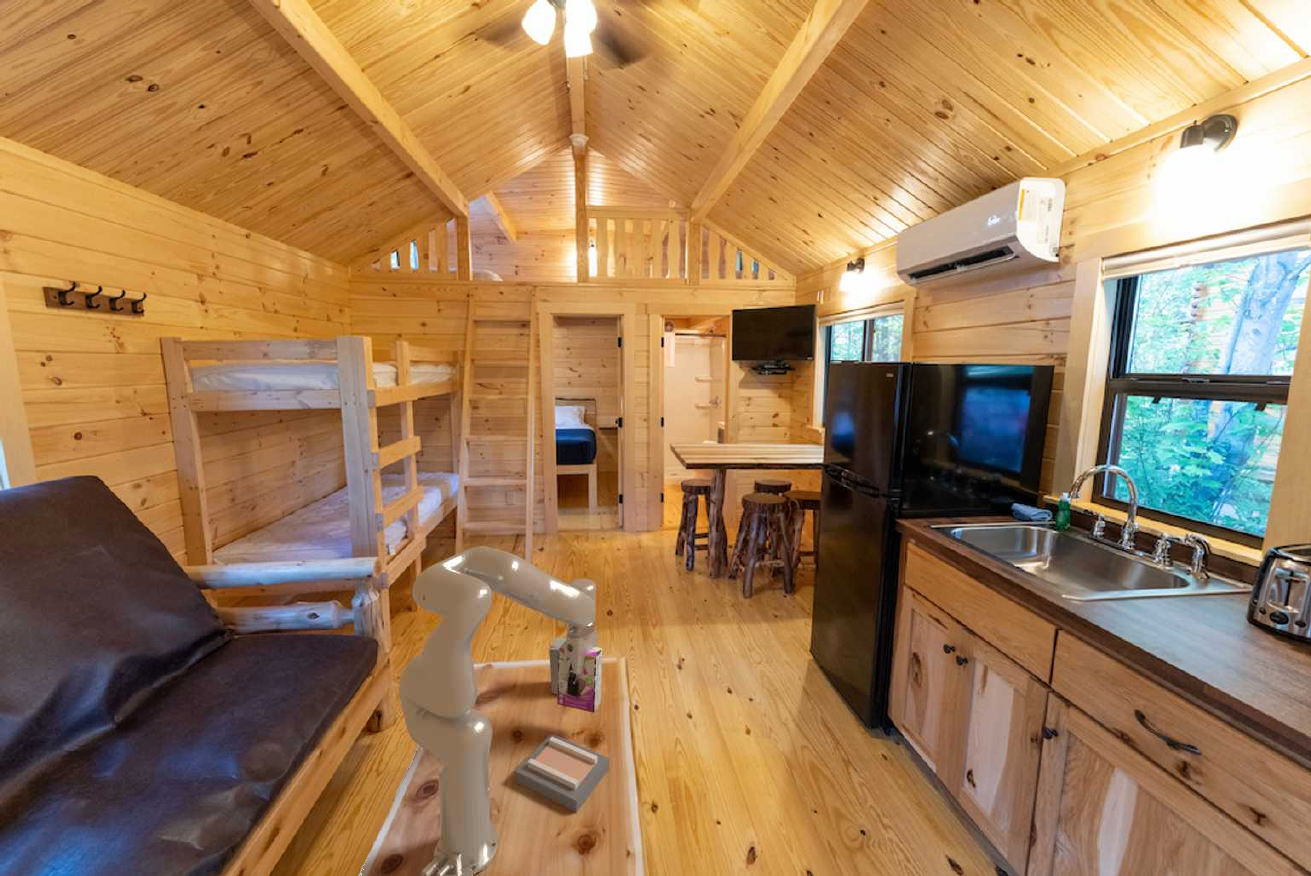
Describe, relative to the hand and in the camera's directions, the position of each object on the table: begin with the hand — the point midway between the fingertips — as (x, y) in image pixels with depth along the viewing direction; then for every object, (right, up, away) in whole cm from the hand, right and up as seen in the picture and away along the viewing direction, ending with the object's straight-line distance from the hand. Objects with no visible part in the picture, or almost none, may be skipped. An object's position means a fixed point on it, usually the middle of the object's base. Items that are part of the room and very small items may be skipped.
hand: (579, 687), depth 138 cm
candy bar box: (0, -5, +1) cm, 5 cm away
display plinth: (-2, -15, -13) cm, 20 cm away
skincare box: (-7, -10, +19) cm, 23 cm away
